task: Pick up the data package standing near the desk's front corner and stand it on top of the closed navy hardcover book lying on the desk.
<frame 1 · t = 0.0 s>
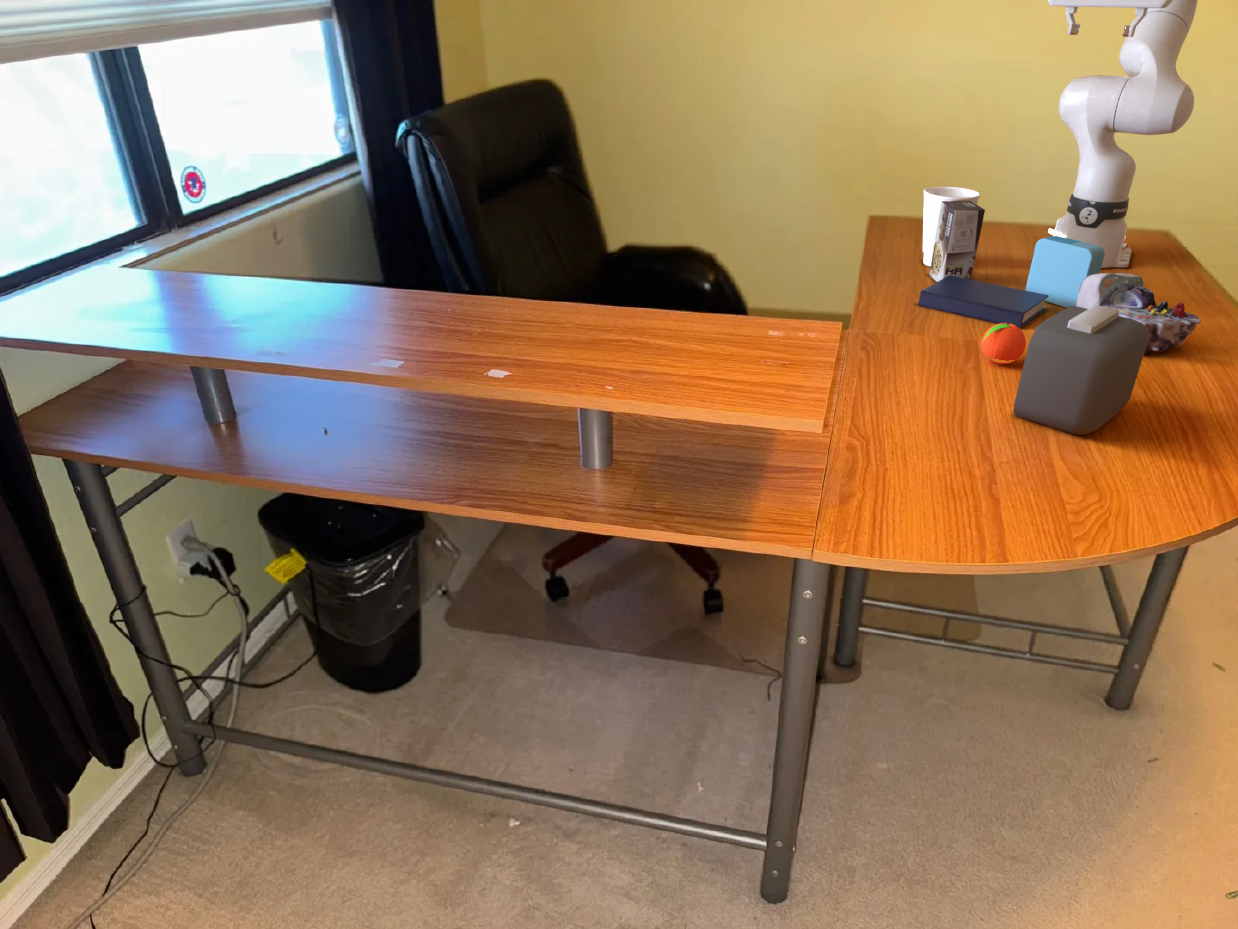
hand: (1099, 35, 160), 48 cm above the table, tool pointing down, fingers open, 8 cm apart
alarm clock: (1071, 416, 131), on the table
coffee box: (948, 281, 190), on the table
book: (981, 307, 174), on the table
data package: (1056, 302, 178), on the table
clementine: (996, 364, 149), on the table
cell model: (1125, 340, 159), on the table
cup: (938, 264, 201), on the table
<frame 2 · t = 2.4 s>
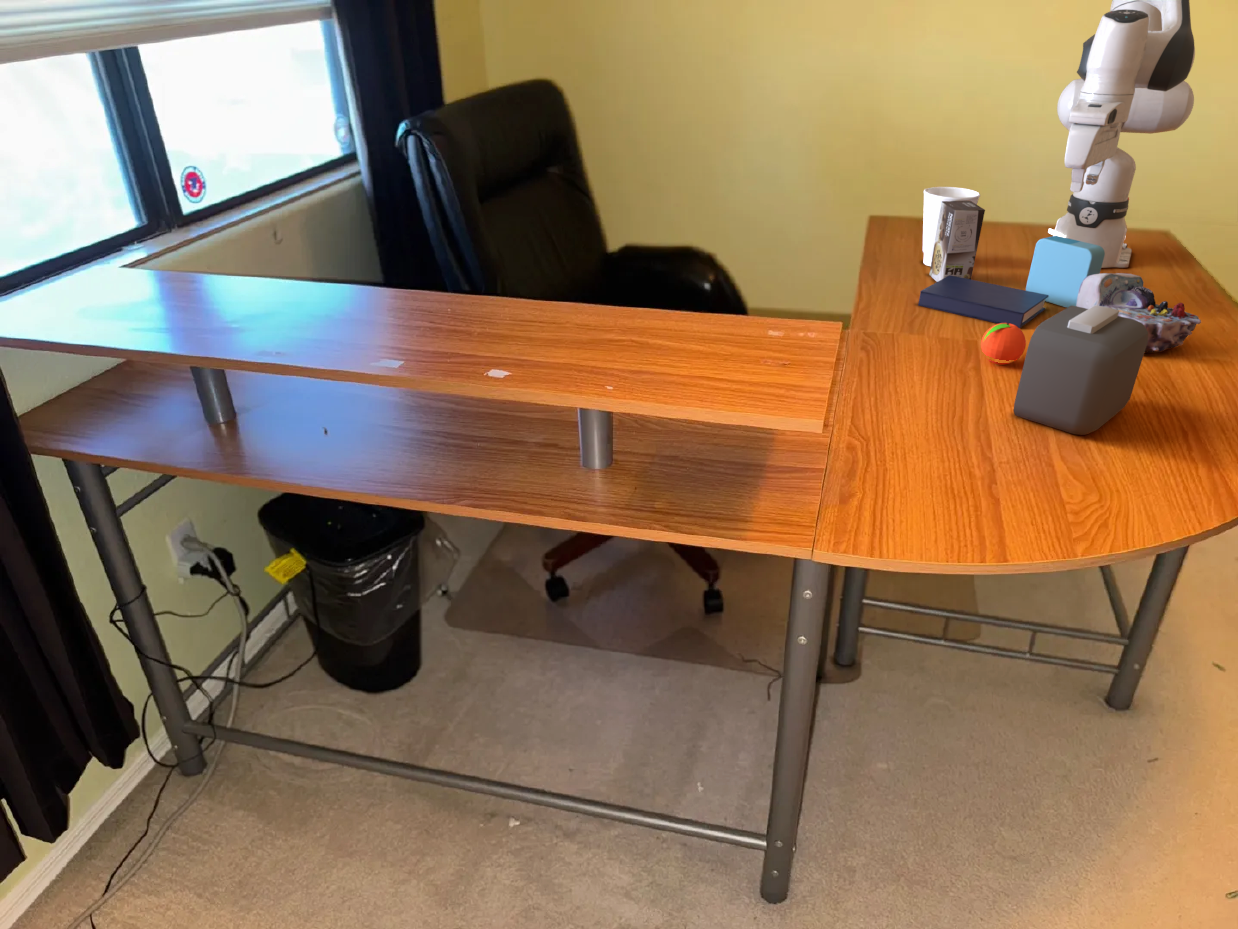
hand: (1083, 187, 167), 22 cm above the table, tool pointing down, fingers open, 8 cm apart
nothing on the table moved.
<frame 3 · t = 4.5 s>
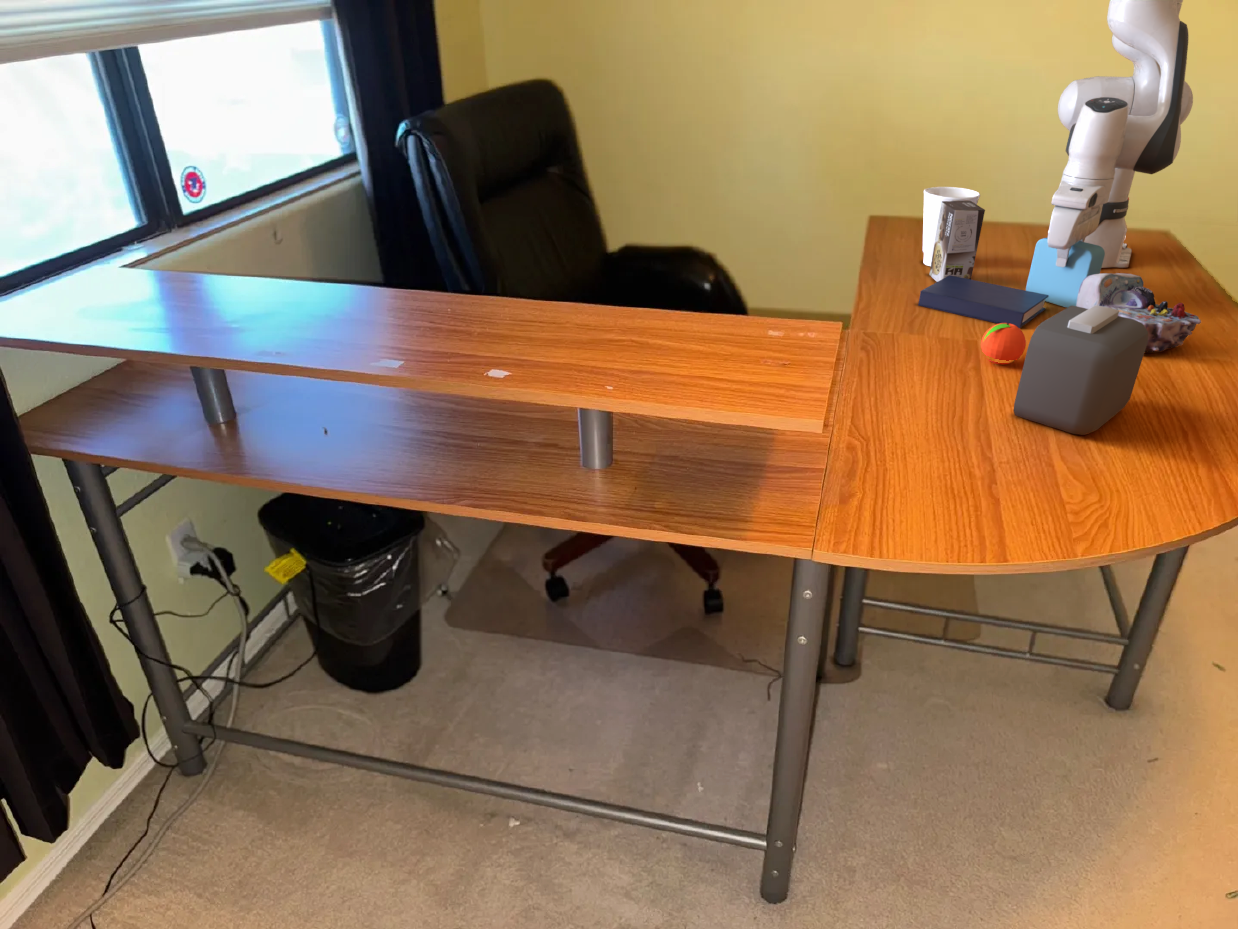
hand: (1066, 262, 174), 8 cm above the table, tool pointing down, fingers closed on data package, 5 cm apart
data package: (1056, 302, 178), on the table, touching gripper
everything else where it was.
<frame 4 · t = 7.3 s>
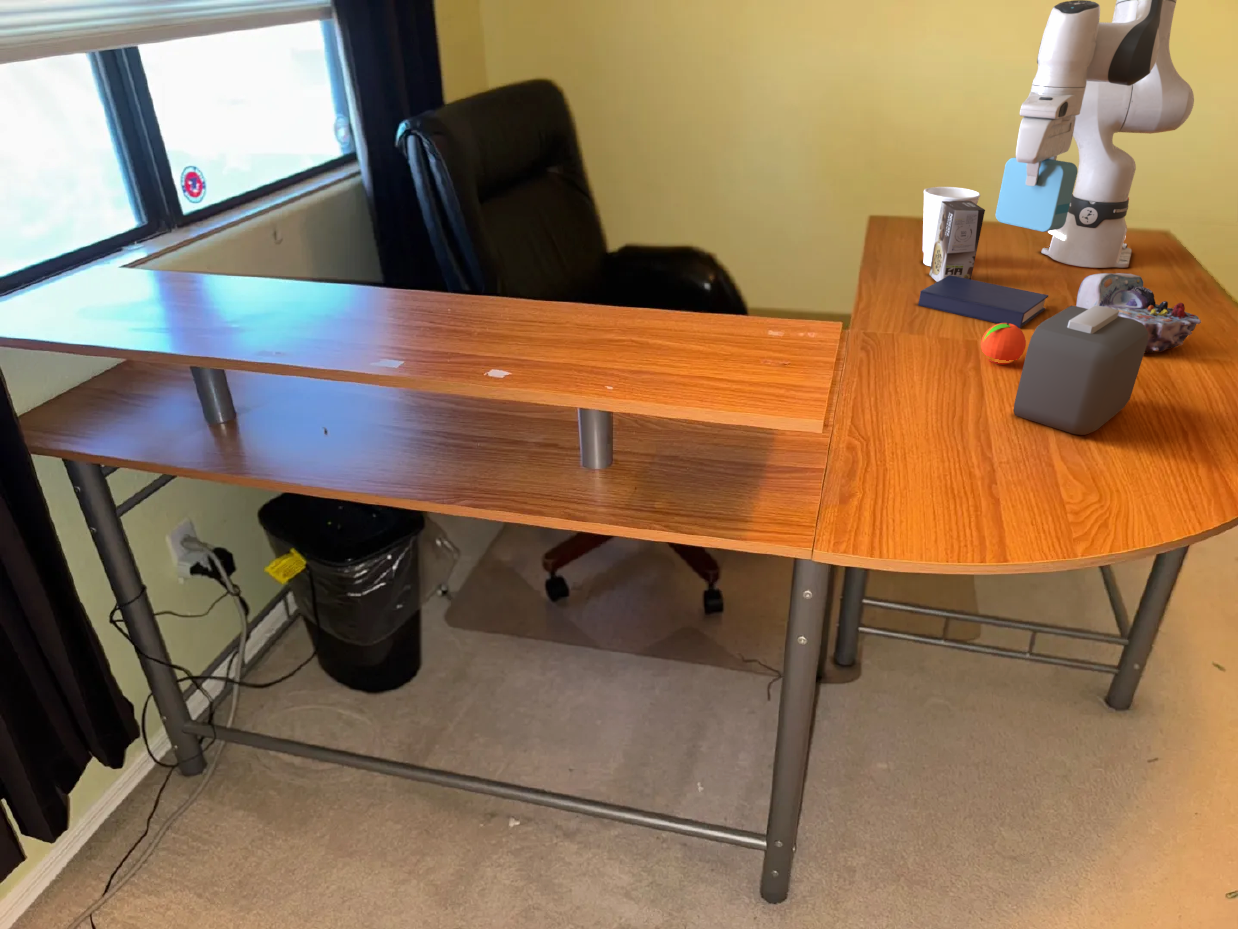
hand: (1037, 182, 164), 24 cm above the table, tool pointing down, fingers closed on data package, 5 cm apart
data package: (1027, 226, 168), point 16 cm above the table, touching gripper
everything else where it was.
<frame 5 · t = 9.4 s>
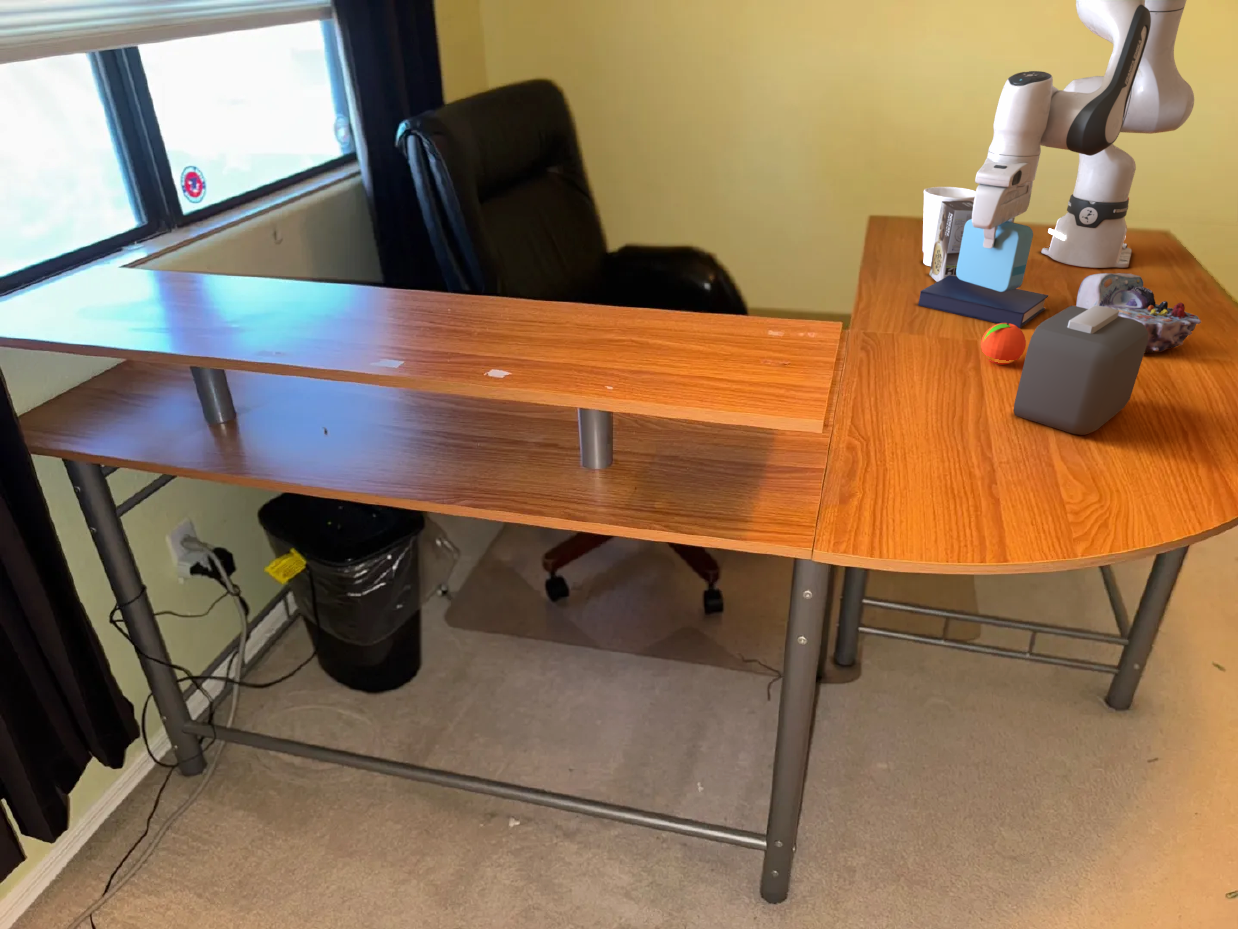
hand: (995, 243, 168), 13 cm above the table, tool pointing down, fingers closed on data package, 5 cm apart
data package: (986, 285, 172), point 5 cm above the table, touching gripper
everything else where it was.
when the fingers open (11 cm above the table, at t = 10.5 s): data package stays where it is, resting on book.
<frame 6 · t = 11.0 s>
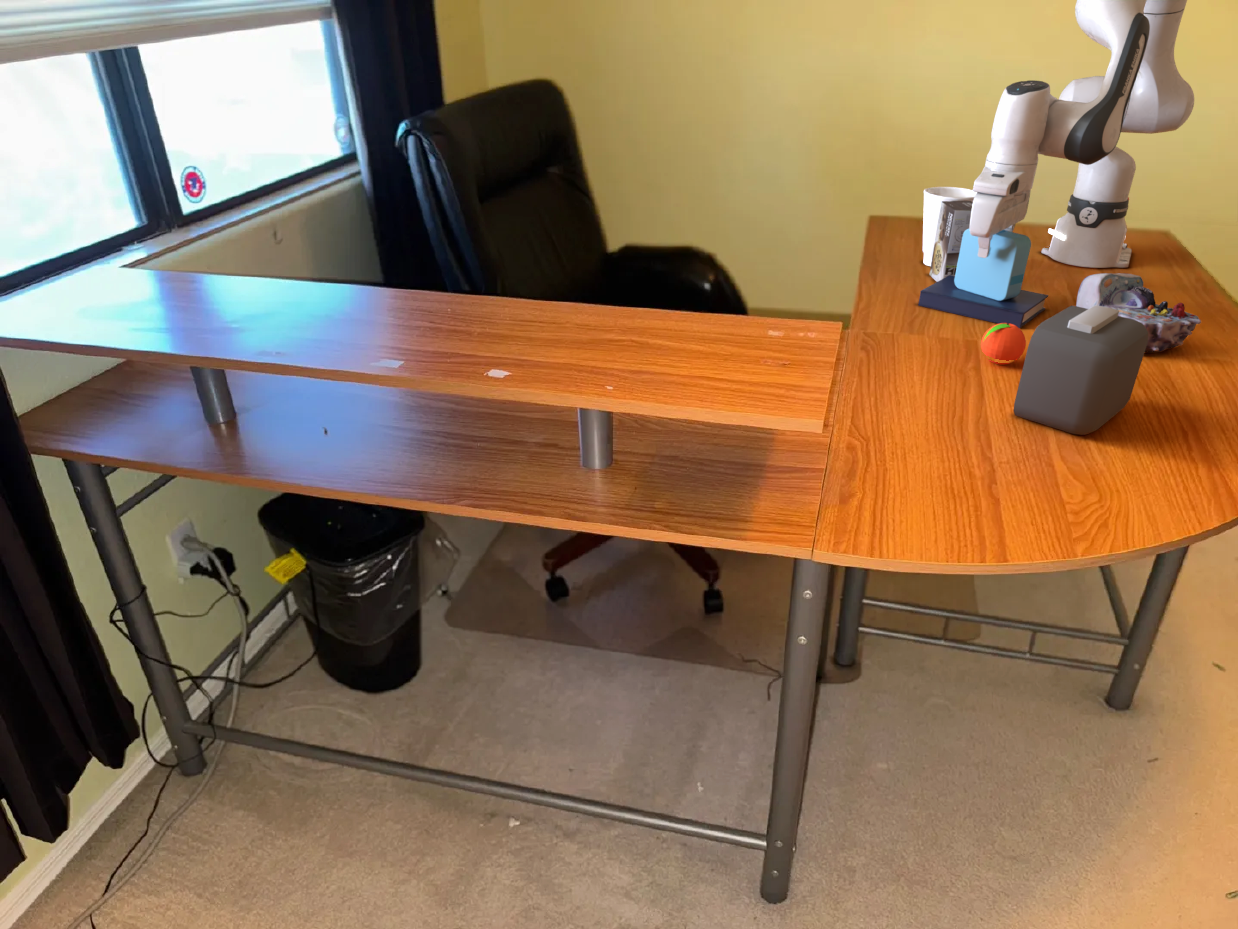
hand: (992, 251, 169), 11 cm above the table, tool pointing down, fingers open, 8 cm apart
book: (981, 307, 174), on the table, touching data package
data package: (984, 293, 173), point 3 cm above the table, touching book
everything else where it was.
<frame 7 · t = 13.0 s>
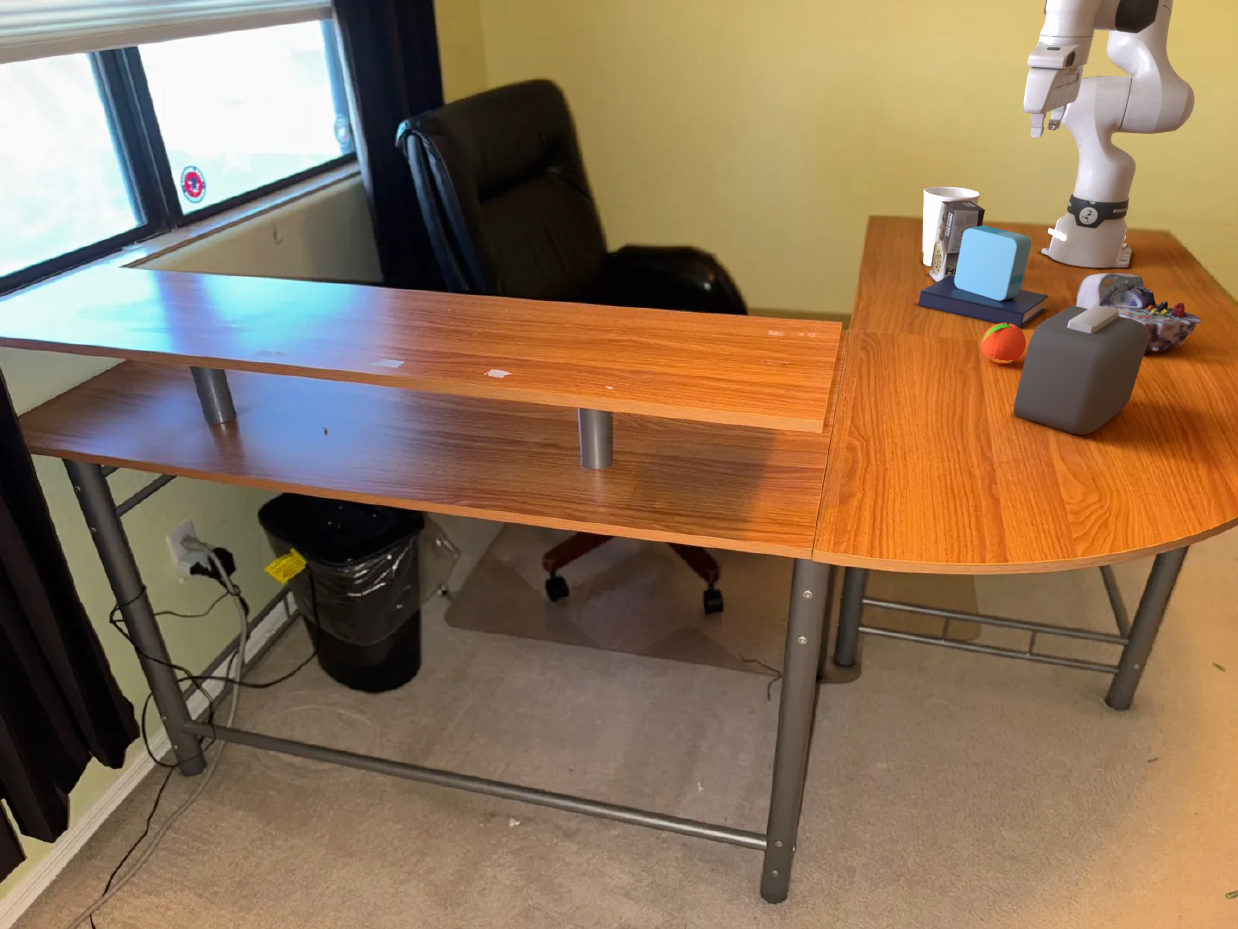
hand: (1044, 133, 167), 31 cm above the table, tool pointing down, fingers open, 8 cm apart
nothing on the table moved.
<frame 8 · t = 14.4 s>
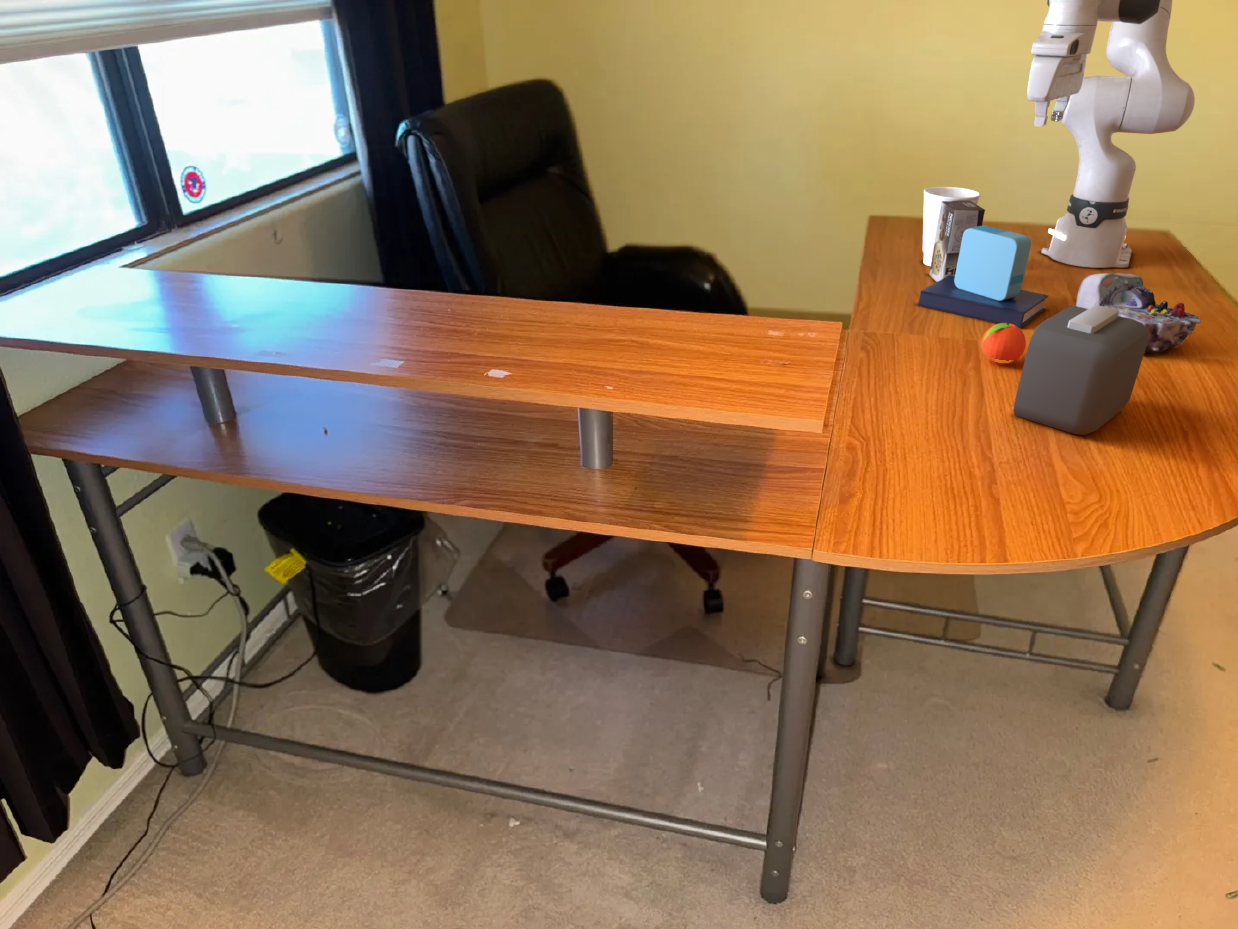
hand: (1047, 123, 166), 33 cm above the table, tool pointing down, fingers open, 8 cm apart
nothing on the table moved.
at the end: data package inside the target area on the book (0.2 cm from its centre), point 2.8 cm above the book's base; data package tilted 0°; data package touching book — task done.
